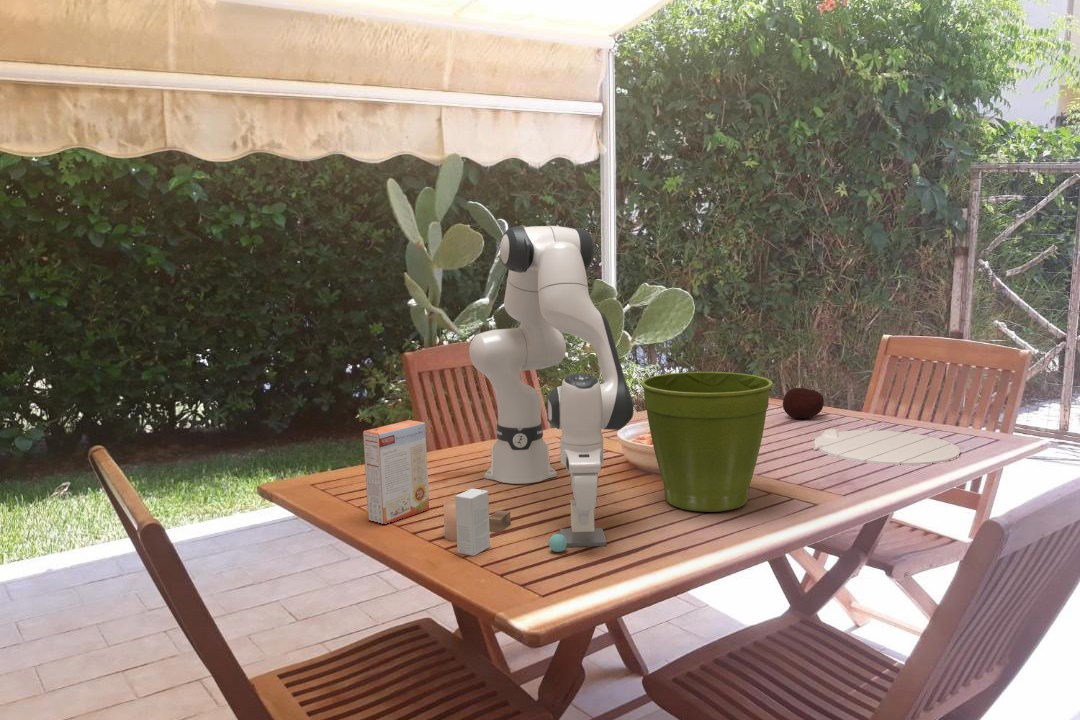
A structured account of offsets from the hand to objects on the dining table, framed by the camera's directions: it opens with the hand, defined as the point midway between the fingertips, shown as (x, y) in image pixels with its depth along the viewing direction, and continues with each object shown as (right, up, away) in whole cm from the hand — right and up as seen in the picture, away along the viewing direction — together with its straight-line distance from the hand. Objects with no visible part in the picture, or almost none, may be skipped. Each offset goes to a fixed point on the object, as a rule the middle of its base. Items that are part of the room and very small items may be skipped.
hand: (582, 519), depth 192 cm
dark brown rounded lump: (+78, +13, +115) cm, 139 cm away
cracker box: (-41, -3, +18) cm, 45 cm away
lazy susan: (+90, +7, +74) cm, 117 cm away
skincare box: (-22, -6, -5) cm, 24 cm away
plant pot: (+30, 0, +25) cm, 39 cm away
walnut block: (-18, -4, +9) cm, 20 cm away
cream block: (0, -2, 0) cm, 2 cm away
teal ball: (-5, -5, -7) cm, 10 cm away
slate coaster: (0, -4, +1) cm, 4 cm away
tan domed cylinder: (-26, -4, +4) cm, 26 cm away
